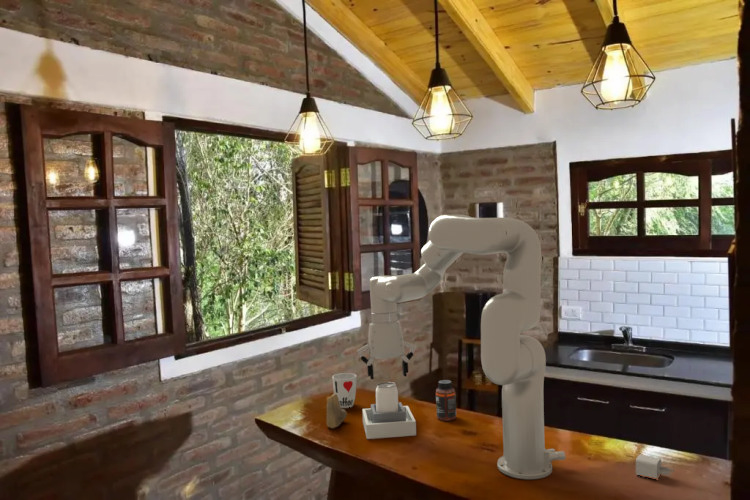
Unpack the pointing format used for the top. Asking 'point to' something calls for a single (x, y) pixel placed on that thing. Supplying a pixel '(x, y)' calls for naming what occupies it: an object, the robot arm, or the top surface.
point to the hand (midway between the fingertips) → (388, 376)
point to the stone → (334, 412)
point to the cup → (345, 388)
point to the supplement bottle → (445, 401)
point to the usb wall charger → (650, 466)
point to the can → (386, 397)
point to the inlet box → (388, 423)
